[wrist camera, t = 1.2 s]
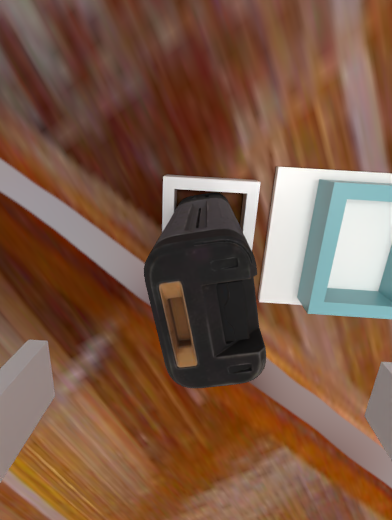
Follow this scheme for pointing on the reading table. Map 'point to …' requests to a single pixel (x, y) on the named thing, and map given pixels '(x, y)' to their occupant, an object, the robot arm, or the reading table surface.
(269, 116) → the reading table surface
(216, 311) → the electronic device
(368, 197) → the dock
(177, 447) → the reading table surface
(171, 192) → the white rectangular frame
